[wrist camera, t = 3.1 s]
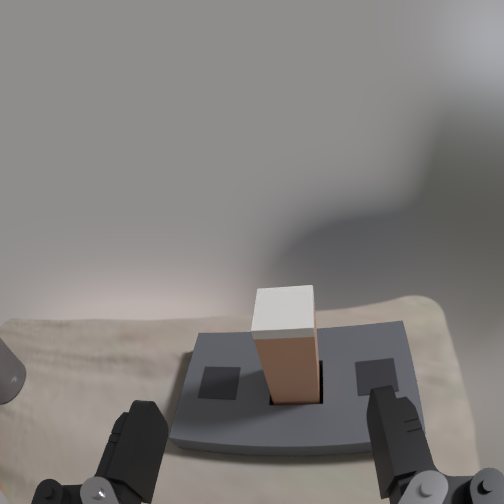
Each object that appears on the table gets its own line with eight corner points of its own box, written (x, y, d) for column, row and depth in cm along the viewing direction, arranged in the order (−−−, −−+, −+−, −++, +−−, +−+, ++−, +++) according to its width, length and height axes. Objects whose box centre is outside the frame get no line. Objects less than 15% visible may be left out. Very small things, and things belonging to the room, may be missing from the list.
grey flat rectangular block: (179, 447, 29) (168, 437, 27) (205, 347, 40) (198, 332, 38) (417, 444, 24) (425, 433, 22) (399, 337, 35) (402, 320, 33)
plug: (277, 414, 30) (251, 330, 22) (280, 380, 34) (257, 288, 26) (319, 413, 29) (313, 327, 22) (319, 378, 33) (312, 285, 25)
